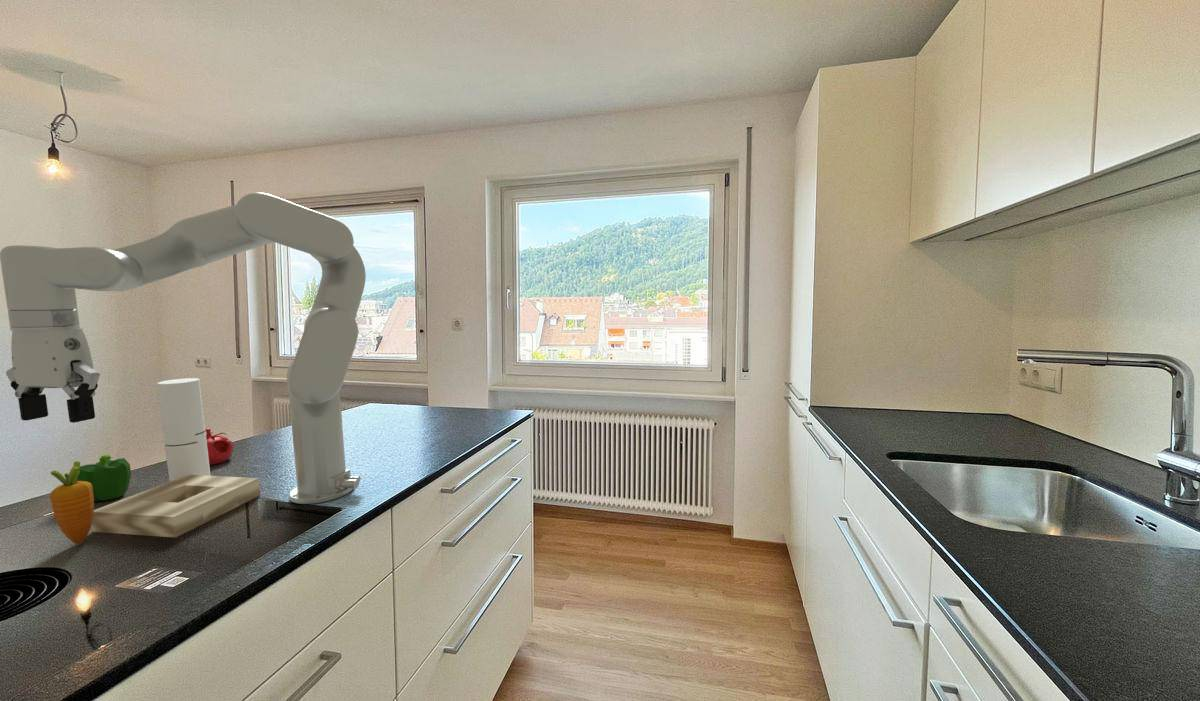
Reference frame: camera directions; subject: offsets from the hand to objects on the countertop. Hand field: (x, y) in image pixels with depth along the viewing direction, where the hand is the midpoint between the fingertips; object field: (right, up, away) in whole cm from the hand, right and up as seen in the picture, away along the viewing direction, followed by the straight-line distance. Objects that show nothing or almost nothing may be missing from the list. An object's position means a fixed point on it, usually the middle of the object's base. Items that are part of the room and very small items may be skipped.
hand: (58, 419), depth 79 cm
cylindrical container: (-2, -20, +28) cm, 35 cm away
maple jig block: (+8, -21, +15) cm, 27 cm away
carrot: (0, -23, +3) cm, 23 cm away
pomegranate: (-11, -18, +43) cm, 48 cm away
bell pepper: (-15, -21, +22) cm, 34 cm away
